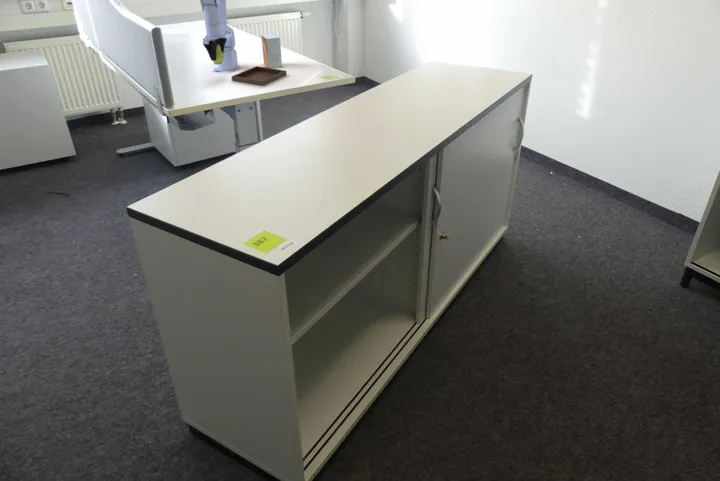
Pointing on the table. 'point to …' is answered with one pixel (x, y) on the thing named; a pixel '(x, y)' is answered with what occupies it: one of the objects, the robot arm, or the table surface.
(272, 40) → the small box
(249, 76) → the tray
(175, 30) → the table surface
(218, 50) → the pear
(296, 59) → the table surface
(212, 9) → the robot arm
